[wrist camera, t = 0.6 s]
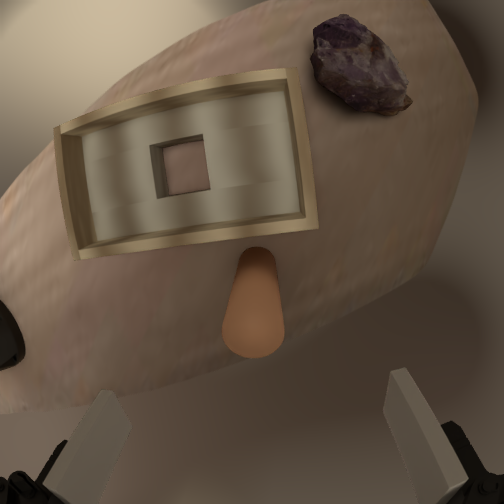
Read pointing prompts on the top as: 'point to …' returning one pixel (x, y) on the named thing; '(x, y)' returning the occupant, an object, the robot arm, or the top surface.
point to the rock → (358, 67)
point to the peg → (254, 307)
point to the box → (217, 156)
